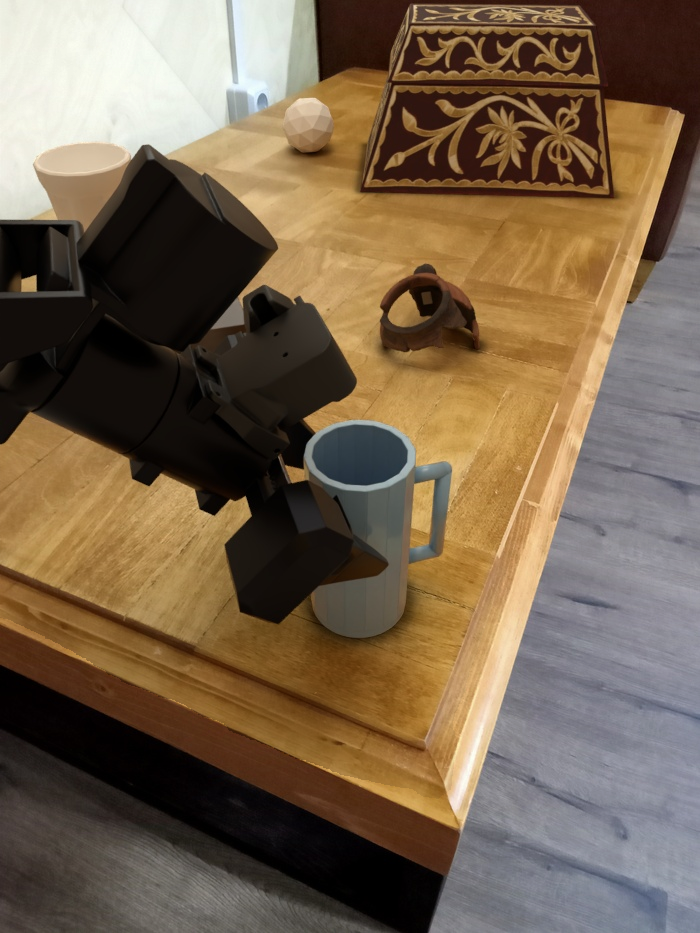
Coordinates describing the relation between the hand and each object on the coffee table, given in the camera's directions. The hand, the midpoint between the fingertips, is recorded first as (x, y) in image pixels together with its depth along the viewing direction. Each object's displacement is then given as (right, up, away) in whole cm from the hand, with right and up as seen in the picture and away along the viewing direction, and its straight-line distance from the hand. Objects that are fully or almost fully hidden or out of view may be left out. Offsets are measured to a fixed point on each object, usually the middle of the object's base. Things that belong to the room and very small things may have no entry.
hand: (358, 514), depth 48 cm
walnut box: (-16, +11, +25) cm, 32 cm away
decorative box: (+19, +47, +67) cm, 84 cm away
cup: (-29, +25, +42) cm, 57 cm away
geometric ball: (-7, +52, +74) cm, 91 cm away
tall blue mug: (+1, -6, +6) cm, 8 cm away
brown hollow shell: (+7, +16, +31) cm, 36 cm away
